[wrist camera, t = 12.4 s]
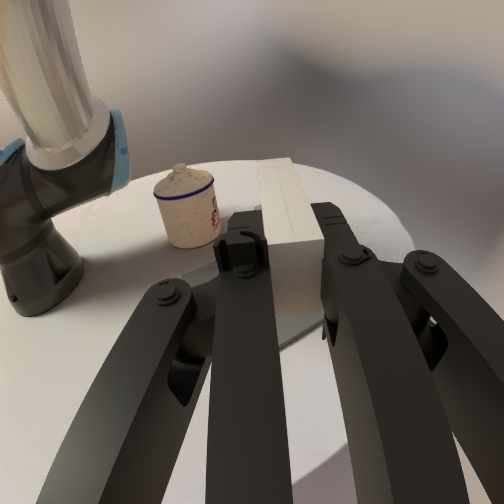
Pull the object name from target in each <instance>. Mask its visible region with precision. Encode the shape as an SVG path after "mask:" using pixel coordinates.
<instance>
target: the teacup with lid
mask: <svg viewBox="0 0 504 504" xmlns="http://www.w3.org/2000/svg"><path fill="white" fill-rule="evenodd" d="M172 169H173V172H171V173H170V174H169V175H168V176H167V177H166V178H164V179H162V180H161V181H160V182H158V183H157V184H156V186H155V187H154V196H155V197H156V198H157V202H158V205H159V209H160V212H161V215H162V219H163V222H164V225H165V229H166V232H167V235H168V238H169V241H170V243H171V244H172V245H174V246H176V247H178V248H196V247H200V246H203V245H205V244H207V243H209V242H211V241H213V240H214V239H215V238H216V237H217V236H218V235H219V234H220V232H221V229H222V226H221V221H220V216H219V211H218V206H217V201H216V196H215V191H214V186H213V182H214V178H213V176H212V175H211V174H210V173H209V172H207V171H204V170H195V169H191V168H186V165H185V164H184V163H179V164H176V165H174V166H173V168H172Z"/></svg>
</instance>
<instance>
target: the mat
mask: <svg viewBox="0 0 504 504" xmlns="http://www.w3.org/2000/svg"><path fill="white" fill-rule="evenodd" d="M218 274H219V270H218V265H217V261H214V262H212V263H210V264H208V265H205V266H203V267H201V268H199V269H196V270H194V271H192V272H190V273H187V274H185V275H183V276H182V279H183V280H185V281H186V282H187V283H188V284H190V287H194V286H197V285H200V284H203V283H206V282H208V281H210V280H212V279H213V278H215V277H216V276H217V275H218ZM323 320H324V309H323V305H322V301H321V311H319V312H312V313H303V314H295V315H286V316H277V317H276V326H277V335H278V345H279V349H280V348H282V347H283V346H285V345H287V344H288V343H290V342H292V341H293V340H295V339H296V338H298V337H300V336H301V335H303V334H305V333H306V332H308V331H309V330H311V329H312V328H314V327H316V326H317V325H319V324H320V323H322V322H323Z"/></svg>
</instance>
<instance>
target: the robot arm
mask: <svg viewBox="0 0 504 504" xmlns="http://www.w3.org/2000/svg"><path fill="white" fill-rule="evenodd" d="M0 88H1V90H2V92H3V93H4V95H5V97H6V99H7V101H8V102H9V104H10V106H11V108H12V109H13V111H14V113H15V115H16V116H17V118H18V120H19V121H20V123H21V125H22V126H23V128H24V130H25V131H26V133H27V135H28V137H27V141H26V145H25V141H23V139H22V138H18V139H16V140H14V141H12V142H11V143H9V144H8V145H6V146H5V147H3V148H2V149H1V150H0V270H1V274H2V278H3V282H4V285H5V289H6V292H7V296H8V299H9V301H10V303H11V305H12V306H13V307H14V309H15V310H16V312H17V313H18V314H20V315H22V316H33V315H37V314H40V313H43V312H45V311H47V310H49V309H50V308H52V307H54V306H55V305H57V304H58V303H59V302H61V301H62V300H63V299H64V298H65V297H66V296H67V295H68V294H69V293H70V292H71V291H72V290H73V289H74V288H75V286H76V285H77V284H78V282H79V280H80V279H81V276H82V274H83V269H84V267H83V263H82V261H81V259H80V257H79V255H78V253H77V252H76V250H75V249H74V248H73V247H72V246H71V245H70V244H69V243H68V242H67V241H66V240H65V239H64V238H63V237H62V235H61V234H60V233H59V232H58V231H57V230H56V229H55V227H54V225H53V222H52V220H51V218H52V217H54V216H56V215H59V214H61V213H63V212H66V211H68V210H70V209H73V208H75V207H78V206H80V205H82V204H85V203H88V202H90V201H93V200H96V199H98V198H101V197H104V196H109V195H111V194H112V193H113V192H115V191H118V190H120V189H122V188H124V187H126V186H127V185H128V183H129V181H130V178H131V167H130V159H129V152H128V149H127V148H128V146H127V138H126V132H125V127H124V122H123V118H122V115H121V112H120V110H119V109H116V108H114V109H111V108H109V109H108V107H107V106H106V104H105V103H104V102H103V101H102V100H101V99H99V98H97V97H95V96H91V93H90V90H89V86H88V83H87V79H86V75H85V72H84V68H83V64H82V61H81V57H80V53H79V49H78V44H77V40H76V36H75V31H74V27H73V22H72V17H71V12H70V7H69V1H68V0H0ZM256 162H257V171H258V180H259V188H260V197H261V206H262V210H253V211H244V212H235V213H234V214H233V215H232V216H231V218H230V219H229V220H228V230H227V233H225V234H223V235H221V236H220V237H219V238H218V239H217V240H216V241H215V243H214V245H213V248H214V253H215V257H216V261H217V265H218V270H219V274H218V275H217V276H216V277H215V278H213V279H212V280H210V281H208V282H206V283H203V284H200V285H197V286H194V287H190V284H188V283H187V282H186V281H185V280H181V279H177V278H174V279H166V280H163V281H160V282H158V283H156V284H155V285H153V286H151V287H150V288H149V290H148V291H147V292H146V293H145V294H144V296H143V298H142V299H141V301H140V302H139V304H138V306H137V307H136V309H135V310H134V312H133V314H132V315H131V317H130V319H129V320H128V322H127V324H126V325H125V327H124V329H123V330H122V332H121V334H120V335H119V337H118V339H117V340H116V342H115V344H114V346H113V347H112V349H111V351H110V353H109V354H108V356H107V358H106V360H105V361H104V363H103V365H102V367H101V368H100V370H99V372H98V374H97V376H96V378H95V379H94V381H93V383H92V385H91V387H90V389H89V390H88V392H87V394H86V396H85V398H84V400H83V402H82V404H81V406H80V408H79V410H78V412H77V414H76V416H75V417H74V419H73V421H72V424H71V426H70V428H69V430H68V432H67V434H66V436H65V438H64V440H63V442H62V444H61V446H60V448H59V451H58V453H57V455H56V457H55V459H54V462H53V464H52V466H51V468H50V471H49V473H48V475H47V478H46V480H45V482H44V485H43V487H42V489H41V492H40V494H39V497H38V499H37V502H36V504H161V502H162V499H163V497H164V494H165V491H166V488H167V485H168V482H169V480H170V477H171V474H172V471H173V468H174V466H175V463H176V460H177V457H178V454H179V452H180V449H181V446H182V443H183V440H184V437H185V435H186V432H187V429H188V426H189V423H190V421H191V418H192V415H193V412H194V409H195V407H196V404H197V401H198V398H199V395H200V393H201V390H202V387H203V384H204V381H205V378H206V376H207V373H208V370H209V367H210V364H211V362H212V366H211V382H210V398H209V417H208V437H207V462H206V495H205V504H293V495H292V483H291V470H290V459H289V447H288V436H287V425H286V415H285V404H284V394H283V384H282V374H281V364H280V354H279V345H278V335H277V326H276V317H277V316H286V315H295V314H303V313H312V312H319V311H321V301H322V305H323V309H324V320H323V331H322V340H325V339H326V337H327V342H328V346H329V350H330V355H331V359H332V364H333V368H334V373H335V378H336V382H337V387H338V392H339V397H340V402H341V407H342V412H343V417H344V423H345V428H346V434H347V439H348V445H349V451H350V457H351V463H352V468H353V475H354V481H355V488H356V496H357V503H358V504H470V503H469V498H468V493H467V488H466V483H465V479H464V475H463V471H462V467H461V463H460V459H459V455H458V452H457V448H456V445H455V442H454V438H453V434H454V436H455V437H456V439H457V441H458V442H459V444H460V446H461V447H462V449H463V451H464V453H465V454H466V456H467V458H468V460H469V461H470V463H471V465H472V467H473V468H474V470H475V472H476V474H477V476H478V478H479V480H480V482H481V483H482V485H483V487H484V489H485V491H486V493H487V495H488V497H489V499H490V501H491V503H492V504H504V321H503V320H502V319H501V318H500V317H499V315H498V314H497V313H496V312H495V311H494V310H493V309H492V308H491V307H490V306H489V304H488V303H487V302H486V301H485V300H484V299H483V298H482V297H481V296H480V295H479V294H478V293H477V292H476V291H475V290H474V289H473V288H472V287H471V286H470V285H469V284H468V283H467V282H466V281H465V280H464V279H463V278H462V277H461V276H460V275H459V274H458V273H457V272H456V271H455V270H453V268H452V267H451V266H450V265H448V264H447V263H446V262H445V261H444V260H443V259H442V258H441V257H439V256H438V255H436V254H434V253H432V252H429V251H424V250H416V251H412V252H410V253H408V254H407V255H406V257H405V259H404V262H403V264H402V263H393V262H385V261H380V260H378V259H377V257H376V256H375V254H374V253H373V252H372V251H371V250H370V249H369V248H367V247H365V246H363V245H360V244H359V243H358V241H357V239H356V237H355V235H354V234H353V232H352V230H351V228H350V226H349V224H347V221H346V219H345V217H344V216H343V214H342V212H341V210H340V208H338V207H337V206H335V205H334V204H332V203H331V202H324V203H313V204H310V203H309V200H308V198H307V196H306V193H305V191H304V189H303V186H302V184H301V182H300V179H299V177H298V175H297V173H296V170H295V168H294V166H293V164H292V161H291V159H290V158H280V159H269V160H259V161H256ZM431 316H432V317H433V319H434V320H435V321H436V322H437V324H434V323H433V322H432V321H431V320H430V317H431ZM452 432H453V434H452Z"/></svg>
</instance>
